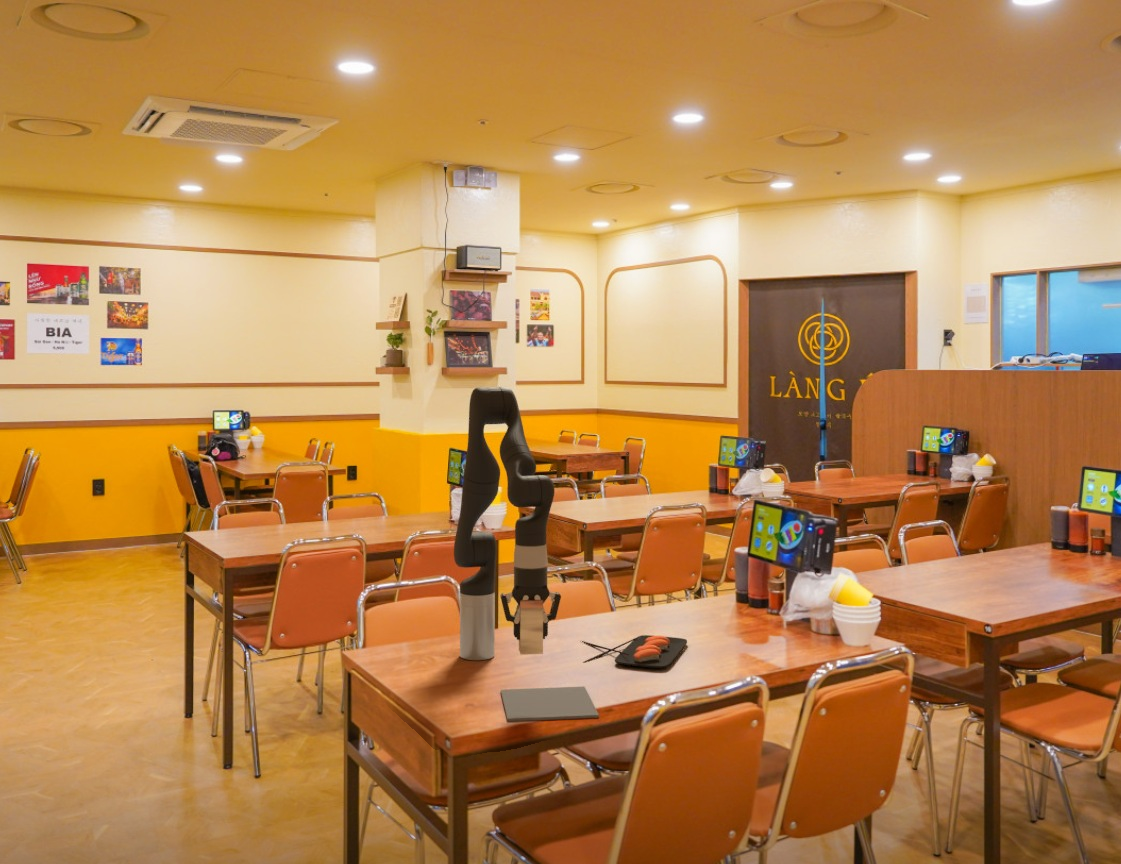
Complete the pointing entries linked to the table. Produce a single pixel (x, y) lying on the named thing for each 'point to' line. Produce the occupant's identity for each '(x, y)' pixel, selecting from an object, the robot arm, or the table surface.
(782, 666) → the table surface
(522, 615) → the birch block
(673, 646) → the sushi plate
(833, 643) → the table surface
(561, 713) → the slate mat
